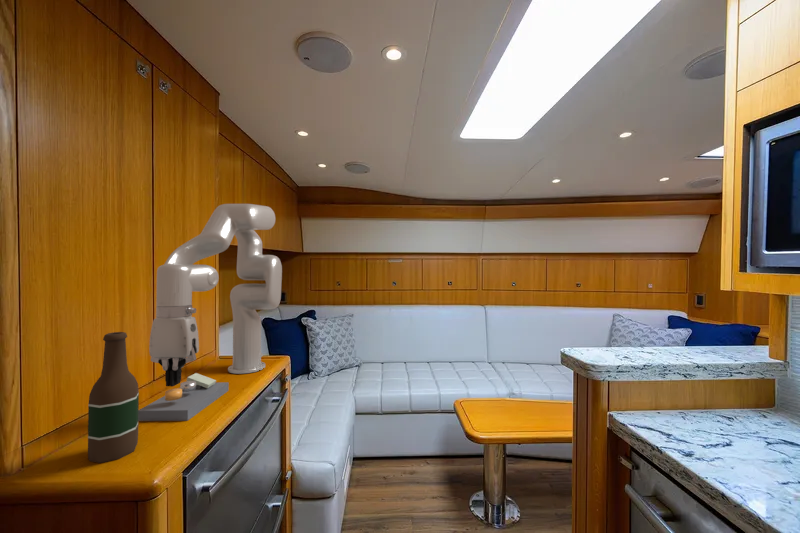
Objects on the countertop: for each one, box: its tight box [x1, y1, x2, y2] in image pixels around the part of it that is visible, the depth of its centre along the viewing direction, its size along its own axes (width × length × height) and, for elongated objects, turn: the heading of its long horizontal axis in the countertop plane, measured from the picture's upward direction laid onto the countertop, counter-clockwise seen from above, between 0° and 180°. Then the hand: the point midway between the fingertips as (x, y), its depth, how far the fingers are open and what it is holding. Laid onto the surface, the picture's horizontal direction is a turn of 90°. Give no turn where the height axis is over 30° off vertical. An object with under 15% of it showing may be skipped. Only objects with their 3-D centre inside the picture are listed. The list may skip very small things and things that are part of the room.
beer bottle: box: [87, 331, 140, 464], centre depth 66 cm, size 8×8×24 cm
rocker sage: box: [185, 372, 217, 388], centre depth 96 cm, size 4×6×1 cm, turn 91°
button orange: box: [164, 387, 182, 401], centre depth 84 cm, size 4×4×2 cm
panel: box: [138, 381, 230, 422], centre depth 90 cm, size 20×12×4 cm, turn 1°
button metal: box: [179, 381, 196, 392], centre depth 90 cm, size 4×4×2 cm
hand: (173, 384), depth 84 cm, fingers closed
